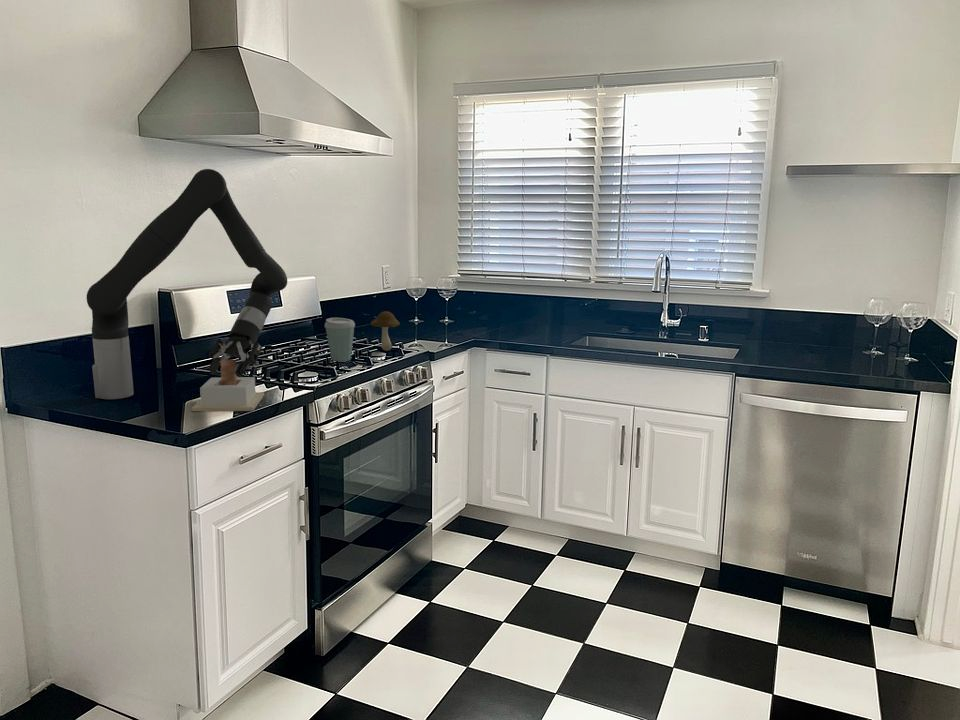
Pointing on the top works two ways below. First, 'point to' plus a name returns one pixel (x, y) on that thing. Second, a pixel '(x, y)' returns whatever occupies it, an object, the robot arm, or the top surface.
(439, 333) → the top surface
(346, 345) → the disposable coffee cup
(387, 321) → the mushroom
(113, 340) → the robot arm
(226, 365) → the peg
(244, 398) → the socket block
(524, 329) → the top surface
